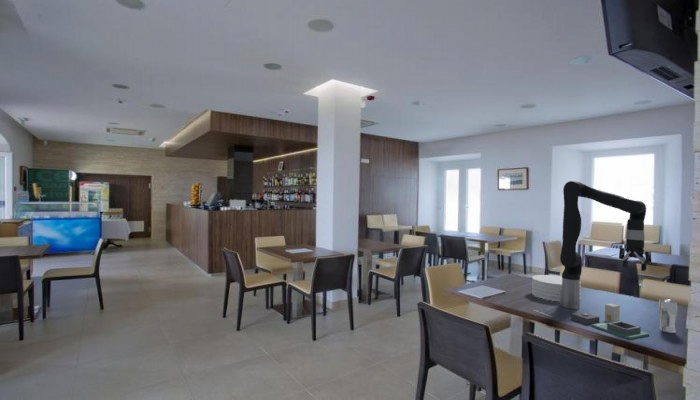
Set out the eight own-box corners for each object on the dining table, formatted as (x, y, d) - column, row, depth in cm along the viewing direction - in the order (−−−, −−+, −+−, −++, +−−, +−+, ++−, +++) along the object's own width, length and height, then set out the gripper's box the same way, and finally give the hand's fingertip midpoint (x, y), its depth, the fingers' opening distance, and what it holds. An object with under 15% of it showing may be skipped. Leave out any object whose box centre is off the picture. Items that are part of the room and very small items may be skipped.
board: (591, 326, 183) (591, 319, 183) (610, 323, 188) (610, 316, 188) (629, 339, 166) (629, 332, 166) (649, 335, 171) (649, 328, 171)
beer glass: (667, 328, 181) (668, 298, 181) (680, 333, 174) (681, 302, 174) (654, 328, 181) (654, 298, 181) (667, 333, 174) (667, 302, 174)
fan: (571, 319, 194) (571, 312, 194) (582, 317, 197) (583, 310, 197) (587, 324, 186) (587, 317, 186) (599, 322, 189) (599, 315, 189)
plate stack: (590, 303, 224) (590, 285, 224) (545, 302, 225) (545, 284, 225) (564, 291, 252) (564, 275, 252) (524, 290, 253) (524, 274, 253)
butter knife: (535, 309, 210) (531, 309, 209) (578, 325, 185) (573, 325, 184) (535, 310, 210) (531, 310, 209) (578, 326, 185) (573, 327, 184)
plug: (603, 321, 191) (604, 304, 191) (610, 320, 193) (610, 303, 193) (612, 324, 187) (613, 306, 187) (619, 322, 189) (619, 305, 189)
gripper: (616, 237, 195) (615, 267, 195) (645, 240, 182) (644, 272, 182) (625, 236, 198) (624, 266, 198) (655, 239, 184) (654, 271, 185)
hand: (634, 269), depth 190 cm, fingers open, 8 cm apart
